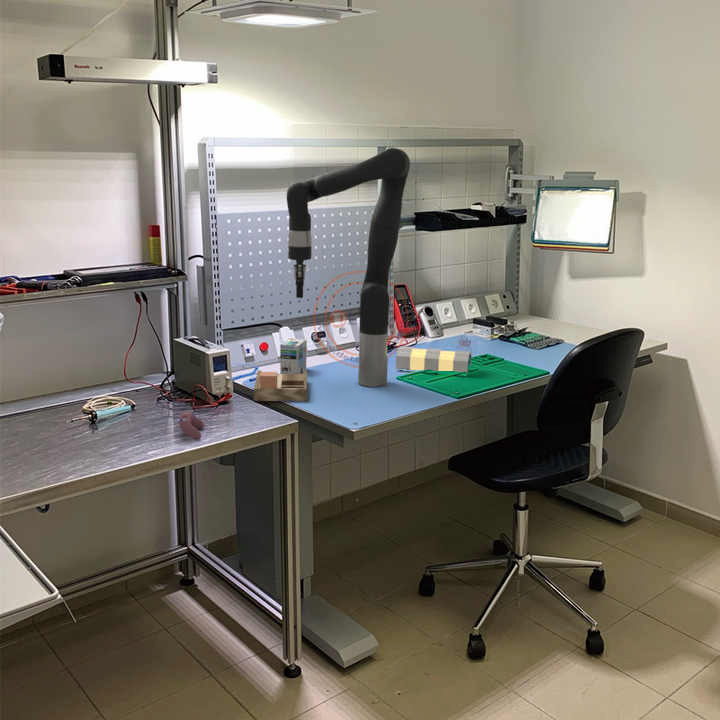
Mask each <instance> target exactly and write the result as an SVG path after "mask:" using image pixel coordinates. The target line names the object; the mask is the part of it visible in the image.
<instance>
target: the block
mask: <svg viewBox="0 0 720 720" xmlns="http://www.w3.org/2000/svg"><path fill="white" fill-rule="evenodd" d="M277 374H278V371H261V374H260V388H277Z"/></svg>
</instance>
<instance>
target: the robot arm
mask: <svg viewBox="0 0 720 720" xmlns="http://www.w3.org/2000/svg"><path fill="white" fill-rule="evenodd" d="M410 161H411V160H410V157H409V155H408V154H407V152H405V151H404V150H402V149H399V148H396V147H390V148H387V149H385V150H384V151H382V152H380V153H378V154H376V155H373V156H372V157H370V158H368V159H365V160H363V161H361V162H358V163H356V164H352V165H349V166H344V167H341V168H337V169H333V170H331V171H328V172H324V173H322V174H319V175H317V176H316V177H313V178H308V179H306V180H301V181H294V182H291V184H289V186H288V188H287V191H286V205H287V211H288V214H289V215H288V216H289V217H288V219H289V220H288V221H289V222H288V237H287V238H288V241H287V242H288V243H287V245H288V249H287V252H288V253H287V254H288V255H287V256H288V257H287V258H288V259H289V260H292V261H295V263H296V264H293V271H294V280H295V286H296V287H295V289H296V293H295V295H296V296H295V297H296V298H297V299H302V298H303V297H304V286H305V283H304V282H305V280H306V271H307V264H304V262H305V261H309V260H310V261H311V259H312V254H313V253H312V252H313V251H312V247H313V245H312V244H313V241H312V240H313V239H312V238H313V237H312V218H311V217H312V216H311V214H310V213H309V203H310V202H313V201H316V200H319V199H322V198H323V197H329V196H332V195H336V194H338V193H341V192H345V191H348V190H350V189H352V188H355V187H357V186H359V185H362V184H365V183H368V182H372V181H375V180H376V181H377V180H381V184H380V191H379V195H378V198H377V201H376V204H375V206H374V209H373V213H372V217H371V220H370V225H369V226H370V227H369V232H368V243H367V265H366V271H365V275H364V279H363V283H362V287H361V290H360V293H359V298H360V299H359V300H360V301H359V326H358V327H359V330H358V331H359V333H358V335H359V336H358V337H359V339H358V377H357V378H358V379H357V383H358V385H360V386H364V387H370V388H372V387H373V388H375V387H382V386H387V385H388V365H389V363H388V362H389V361H388V360H389V357H388V339H389V338H388V331H389V322H390V321H389V320H390V294H389V276H390V269H391V264H392V262H393V258H394V256H395V253H396V248H397V244H398V240H399V232H400V226H401V216H402V208H403V207H402V206H403V197H404V191H405V188H406V183H407V178H408V175H409V171H410V167H411V162H410Z"/></svg>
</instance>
